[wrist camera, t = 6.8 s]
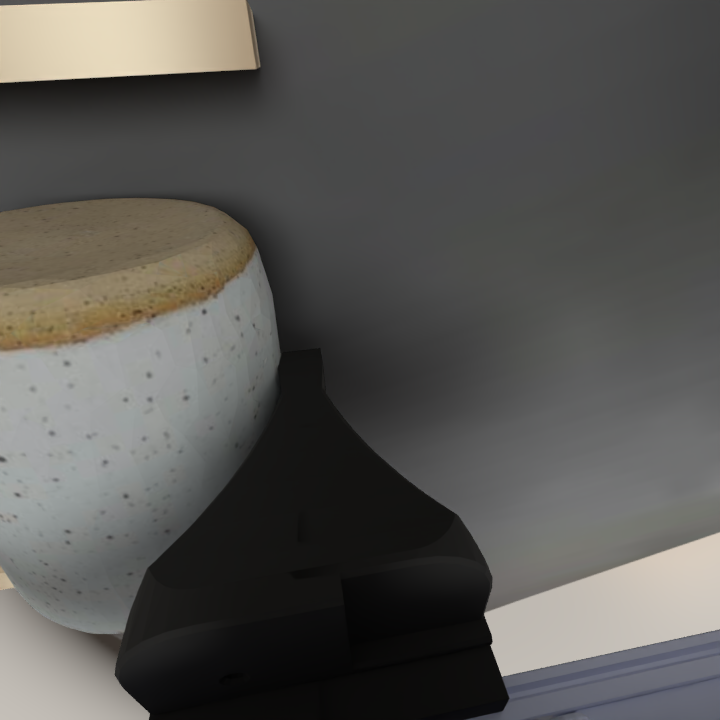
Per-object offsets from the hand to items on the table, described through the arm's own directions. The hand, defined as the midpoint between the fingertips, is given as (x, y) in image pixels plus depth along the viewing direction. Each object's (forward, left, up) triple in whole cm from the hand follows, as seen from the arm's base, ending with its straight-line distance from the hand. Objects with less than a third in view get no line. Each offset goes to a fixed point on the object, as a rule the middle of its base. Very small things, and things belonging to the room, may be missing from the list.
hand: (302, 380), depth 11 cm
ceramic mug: (-4, +4, -4) cm, 7 cm away
